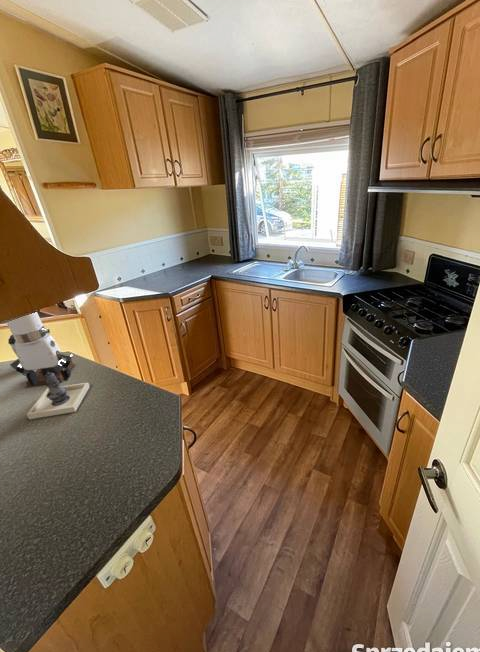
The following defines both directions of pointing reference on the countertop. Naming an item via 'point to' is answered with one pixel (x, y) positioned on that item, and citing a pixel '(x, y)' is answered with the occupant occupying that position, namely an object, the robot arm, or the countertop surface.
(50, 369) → the dark gray cylinder
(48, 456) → the countertop surface
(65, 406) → the light tray
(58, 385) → the marbled chess pawn
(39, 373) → the dark tray
